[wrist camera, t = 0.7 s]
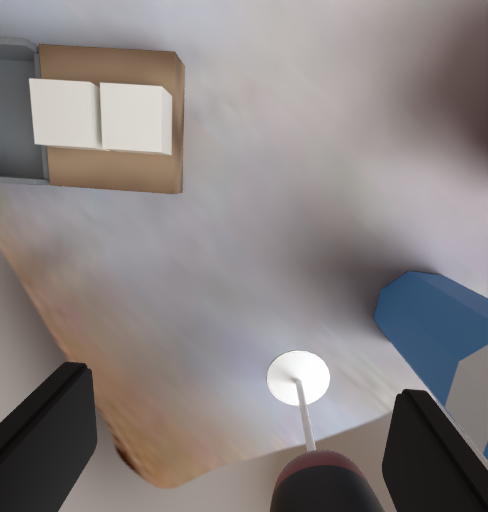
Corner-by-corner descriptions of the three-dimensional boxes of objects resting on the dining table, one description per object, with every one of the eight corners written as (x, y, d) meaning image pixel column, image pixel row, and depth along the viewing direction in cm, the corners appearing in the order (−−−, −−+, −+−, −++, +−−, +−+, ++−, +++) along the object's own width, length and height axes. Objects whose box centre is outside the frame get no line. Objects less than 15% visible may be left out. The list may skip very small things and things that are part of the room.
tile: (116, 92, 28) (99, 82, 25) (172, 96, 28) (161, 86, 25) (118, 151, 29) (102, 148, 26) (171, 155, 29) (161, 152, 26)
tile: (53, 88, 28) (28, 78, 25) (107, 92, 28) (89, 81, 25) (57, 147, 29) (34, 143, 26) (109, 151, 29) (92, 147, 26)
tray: (-26, 54, 31) (-73, 33, 26) (58, 59, 31) (24, 38, 26) (-11, 178, 34) (-51, 178, 29) (66, 184, 33) (37, 185, 29)
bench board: (63, 59, 30) (38, 44, 27) (184, 66, 30) (175, 51, 27) (71, 184, 33) (49, 185, 30) (182, 192, 33) (173, 194, 30)
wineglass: (249, 375, 38) (237, 582, 18) (306, 334, 36) (359, 513, 17) (290, 419, 39) (320, 658, 19) (347, 381, 37) (442, 600, 18)
